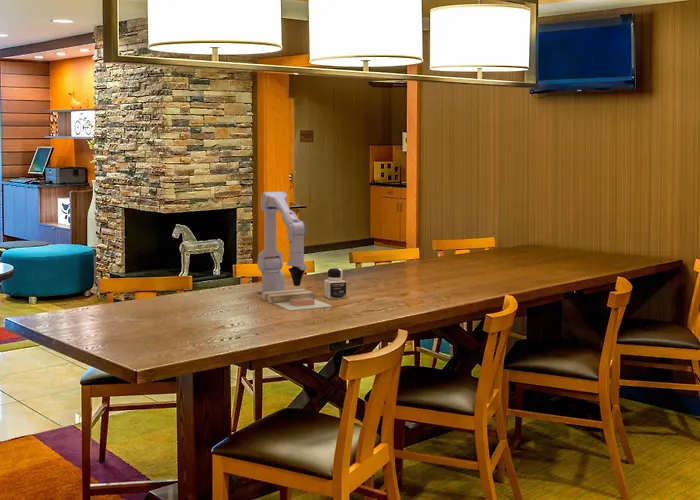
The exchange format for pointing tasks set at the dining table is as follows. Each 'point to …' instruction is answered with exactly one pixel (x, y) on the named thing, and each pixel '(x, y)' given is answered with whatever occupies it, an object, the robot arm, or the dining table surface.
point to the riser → (286, 295)
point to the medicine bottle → (335, 284)
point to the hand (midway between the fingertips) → (296, 285)
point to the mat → (292, 308)
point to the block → (302, 301)
